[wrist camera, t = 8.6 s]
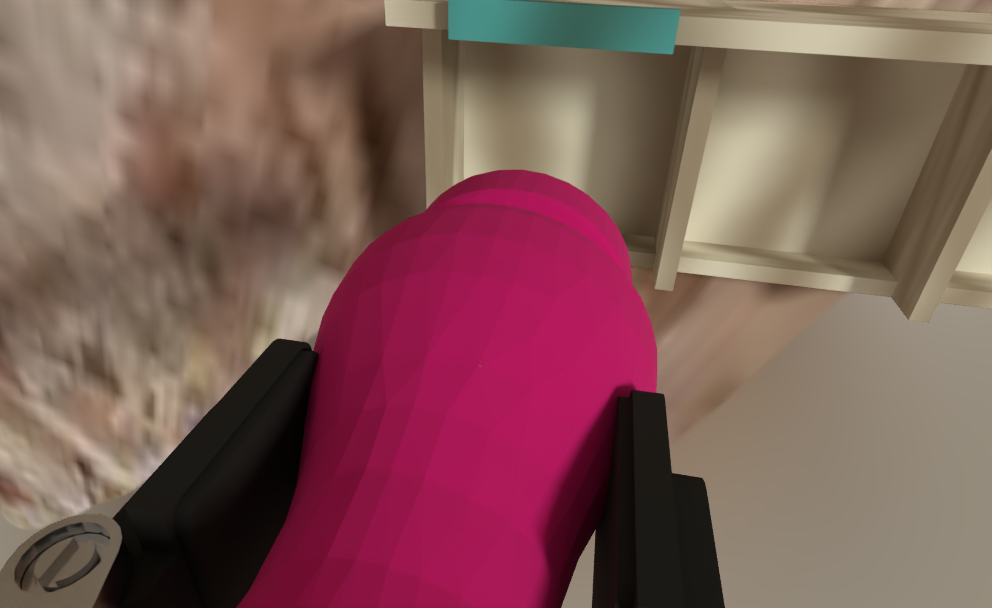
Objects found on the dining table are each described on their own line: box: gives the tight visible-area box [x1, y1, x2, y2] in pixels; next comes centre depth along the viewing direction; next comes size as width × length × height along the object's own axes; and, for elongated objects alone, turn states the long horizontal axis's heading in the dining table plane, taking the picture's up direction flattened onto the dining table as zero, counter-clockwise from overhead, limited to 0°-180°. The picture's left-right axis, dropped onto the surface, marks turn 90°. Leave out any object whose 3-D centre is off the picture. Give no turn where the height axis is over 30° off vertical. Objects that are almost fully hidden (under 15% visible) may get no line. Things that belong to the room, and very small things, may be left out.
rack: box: [384, 0, 992, 322], centre depth 23 cm, size 33×12×9 cm, turn 88°
